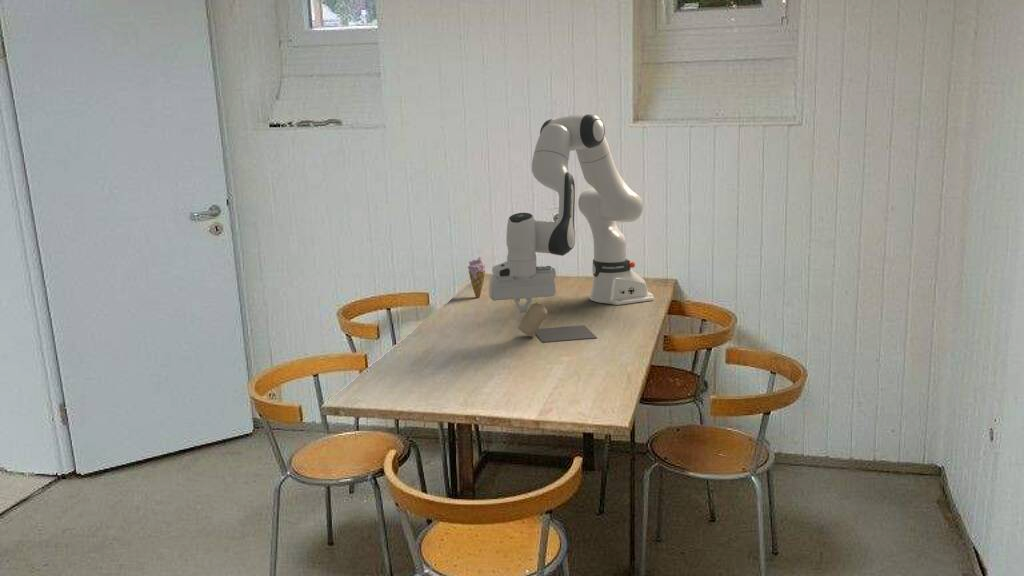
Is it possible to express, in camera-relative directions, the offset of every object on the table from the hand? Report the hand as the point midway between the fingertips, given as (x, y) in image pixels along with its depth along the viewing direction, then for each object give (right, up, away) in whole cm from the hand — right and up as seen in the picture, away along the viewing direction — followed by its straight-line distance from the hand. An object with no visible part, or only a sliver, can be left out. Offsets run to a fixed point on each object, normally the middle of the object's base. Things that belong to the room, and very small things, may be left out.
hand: (522, 312), depth 276 cm
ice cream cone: (-16, +4, +51) cm, 54 cm away
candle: (+1, -6, +1) cm, 7 cm away
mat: (+13, -7, +4) cm, 15 cm away
